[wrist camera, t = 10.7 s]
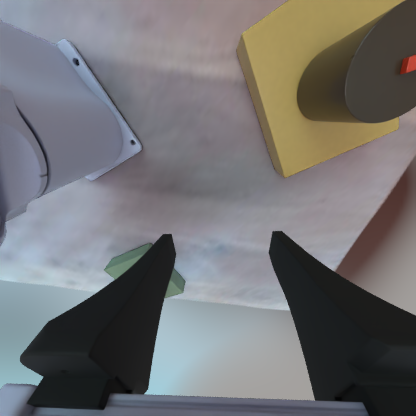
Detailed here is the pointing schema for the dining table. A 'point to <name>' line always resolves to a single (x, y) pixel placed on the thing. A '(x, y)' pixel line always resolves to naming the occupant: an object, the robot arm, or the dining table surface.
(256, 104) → the plate
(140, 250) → the green stepped block
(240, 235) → the dining table surface
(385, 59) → the dark brown rotary knob
